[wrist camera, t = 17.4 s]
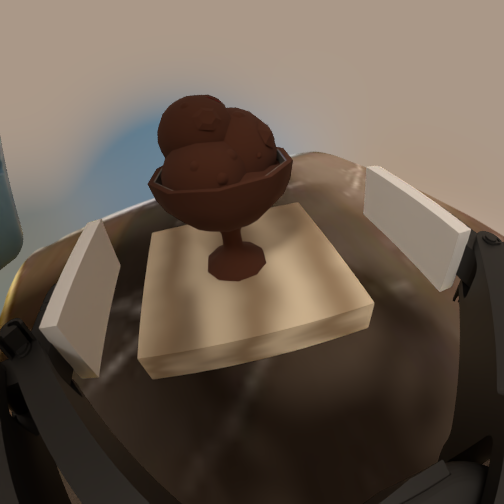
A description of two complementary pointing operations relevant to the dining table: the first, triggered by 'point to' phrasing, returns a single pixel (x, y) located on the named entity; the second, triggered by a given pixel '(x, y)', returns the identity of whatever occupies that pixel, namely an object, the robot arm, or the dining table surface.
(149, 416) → the dining table surface
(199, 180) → the ice cream bowl
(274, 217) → the maple stand board
